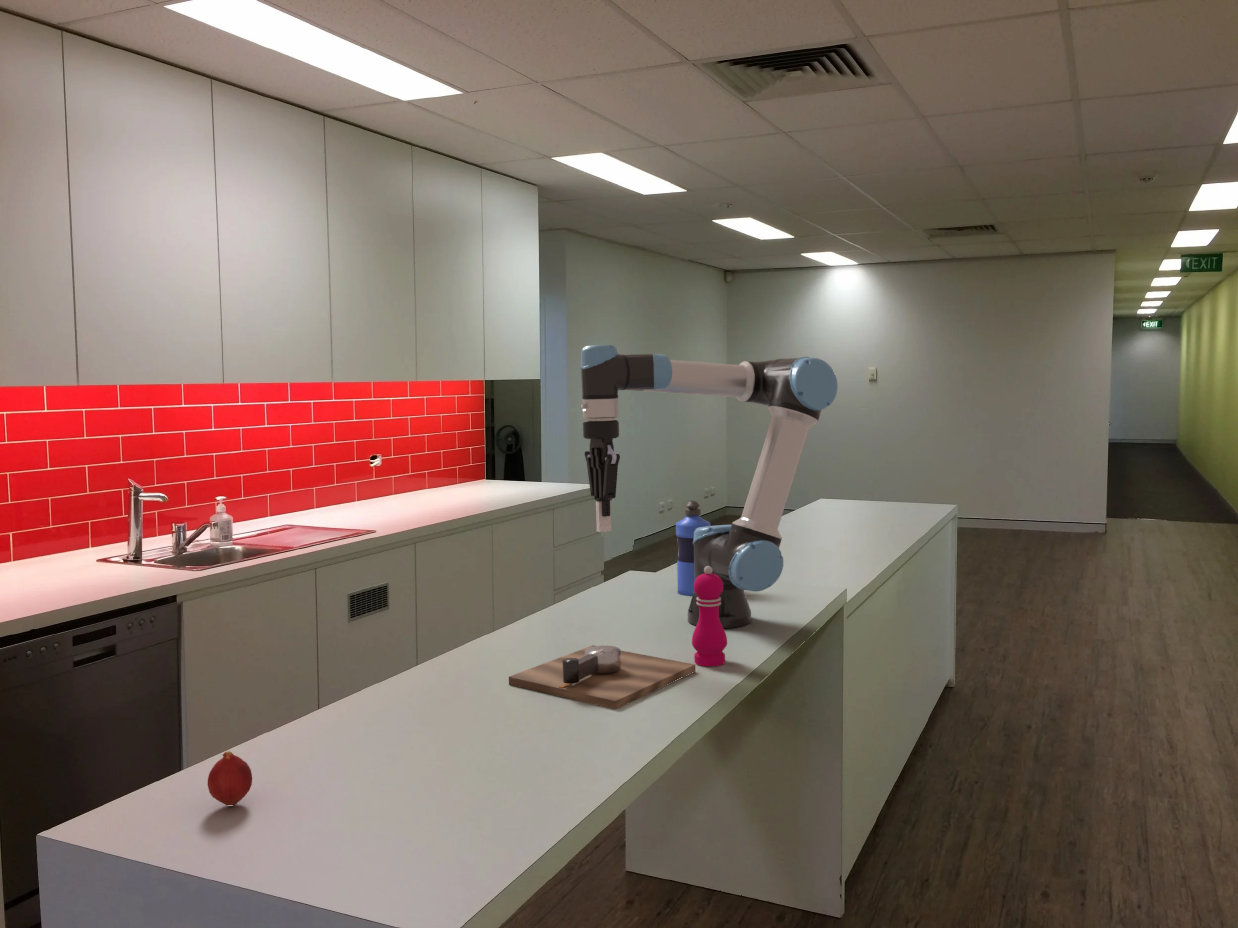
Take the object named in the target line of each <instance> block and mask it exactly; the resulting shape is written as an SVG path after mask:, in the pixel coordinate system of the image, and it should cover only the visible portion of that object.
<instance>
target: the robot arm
mask: <svg viewBox="0 0 1238 928" xmlns="http://www.w3.org/2000/svg"><path fill="white" fill-rule="evenodd" d="M580 353H581V356H580V373H581V374H580V375H581V392H582V393H581V394H582V395H581V397H582V399H581V400H582V404H581V405H580V408H581V409H582V418H583V419H585V421H584V420H583V422H582V435H583V436H582V437H583V439H585V440H590V442H589V450H585V451H584V458H585V461H586V468H587V476H588V483H589V484H588V485H589V491H590V497H593V499H594V500H595V511H596V512H595V514H596V515H595V518H596V519H595V521H596V523H595V524H596V532H598V533H603V532H604V533H606V532H607V533H608V532H612V516H611V515H612V513H611V512H612V511H611V510H612V508H611V501H612V500H613V499H616V495H617V485H618V484H617V483H618V468H619V463H620V460H621V455H620V453H615V447H614V442H613V439H617V438H619V436H620V422H619V420H618V419H617V418H618V417H619V415H620V413H619V412H620V411H619V410H620V409H619V408H620V407H619V405H620V404H619V391H637V392H638V391H639V392H653V393H654V392H656V393H669V394H682V395H683V394H684V395H702V396H715V397H728V398H729V397H731V398H736V399H737V400H738V401H739V402H741V403H753V404H759V405H763V406H767V409H768V411H769V413H770V415H771V420H770V423H769V426H768V429H767V432H766V433H767V434H766V436H765V439H764V443H763V446H762V449H761V453H760V454H759V455H760V456H759V459H758V462H757V464H756V465H757V466H756V468H755V472H754V474H753V478H752V481H751V485H750V488H749V491H748V494H747V497H746V501H745V503H744V508H743V509H742V513H741V516H740V517H739V518H738V519H736V520H735V521H732V523H731V524H721V525H710V526H706V527H699V528H697V529H696V530H695V531H694V539H693V545H694V582H695V580H696V578H697V577H698V576H699V575H701V574H705V573H704V568H705V567H706V566H710V567H712V570H713V571H712V574H716V575H718V576H719V577H720V578H721V580H722V582H723V591H722V593H721V594H720V595H719V597H721V604H720V605H719V619H720V622H721V624H722V627H723V629H730V628H737V627H738V628H739V627H743V626H747V625H748V624H750V623H751V622H752V610H751V607H750V605H749V602H748V597H747V596H746V592H745V591H749V592H762V591H765V590H766V589H768V588H771V587H772V586H773V585H774V584H775V583H776V582H777V581H778V580H779V579H780V576H781V574H782V572H783V569H784V557H783V556H782V555H783V554H782V551H781V550H780V546H781V542H782V539H783V537H782V535H781V533H780V531H779V526H780V522H781V521H782V516H783V514H784V510H785V506H786V505H787V501H788V497H789V494H790V491H791V488H792V484H793V481H794V477H795V474H796V471H797V467H798V464H799V461H800V459H801V458H800V457H801V455H802V452H803V449H804V444H805V442H806V439H807V436H808V435H807V434H808V432H809V429H810V428H812V427H813V426H815V425H817V424H818V422H819V419H820V416H821V412H822V410H825V409H827V408H828V407H829V406H831V405H832V403H834V401H835V399H836V396H837V394H838V379H837V378H838V377H837V376H836V374H835V371H834V369H833V368H832V366H830V365H829V364H828V362H826V361H825V360H823V359H822V358H818V357H809V356H802V357H801V356H800V357H794V358H793V357H790V358H777V359H771V360H764V361H763V360H762V361H747V360H745V361H741V362H740V363H739V364H728V363H727V364H726V363H716V362H703V361H688V360H678V359H677V360H676V359H670V358H669V356H667V355H666V354H664V353H655V352H654V353H653V352H652V353H639V354H638V353H634V354H632V353H631V354H622V353H621V354H620V353H619V352H618V349H617V346H616V345H614V344H595V345H586V346H583V348H582V349H581V352H580ZM697 597H698V595H697V594H696V592H695V591H694V593H693V596H691V599H690V603H689V605H688V606H689V607H688V609H687V622H688V624H689V623H690V624H691V625H694V626H696V625H697V623H698V620H699V605H697V599H696V598H697Z"/></svg>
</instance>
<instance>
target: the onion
mask: <svg viewBox="0 0 1238 928" xmlns="http://www.w3.org/2000/svg"><path fill="white" fill-rule="evenodd" d="M252 785H253V774H252V769H251V768H250V766H249V764H248V763H247V762H246V761H245V760H244V759H242V758H241V757H240V756H238V755H235V754H234V753H233V752H231V751H230V750H227V751H225V752H224V753H223V754H222V758H220V759H218V760H217V761H216V763H214V765H213V766H212V767H211V770H210V771H209V774H208V777H207V789H208V793H209V794H210V795H211V797H212V798H213V799H215V800H216V801H218V802H219V803H222V804H224V805H225V806H226V805H234V806H236V805H237V804H238V803H240V801H241V800H243V799H244V798H245V797H246V795H247V794H248V793H249V792H250V790H251V787H252ZM235 804H236V805H235Z"/></svg>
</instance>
